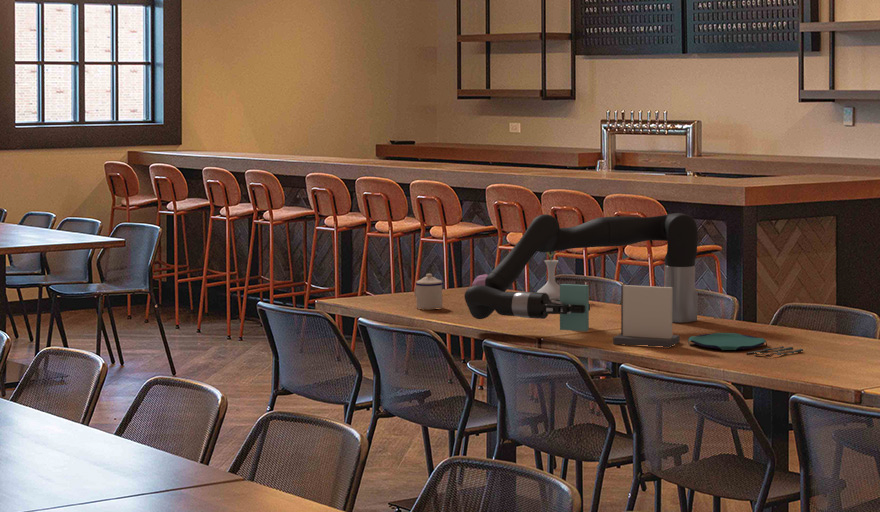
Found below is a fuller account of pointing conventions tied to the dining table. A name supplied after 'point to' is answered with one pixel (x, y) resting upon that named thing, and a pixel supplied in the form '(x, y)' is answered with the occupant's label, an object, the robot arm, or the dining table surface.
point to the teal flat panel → (575, 297)
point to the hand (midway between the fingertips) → (586, 308)
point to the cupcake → (480, 280)
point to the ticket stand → (646, 316)
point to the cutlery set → (734, 342)
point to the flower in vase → (551, 280)
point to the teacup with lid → (428, 292)
